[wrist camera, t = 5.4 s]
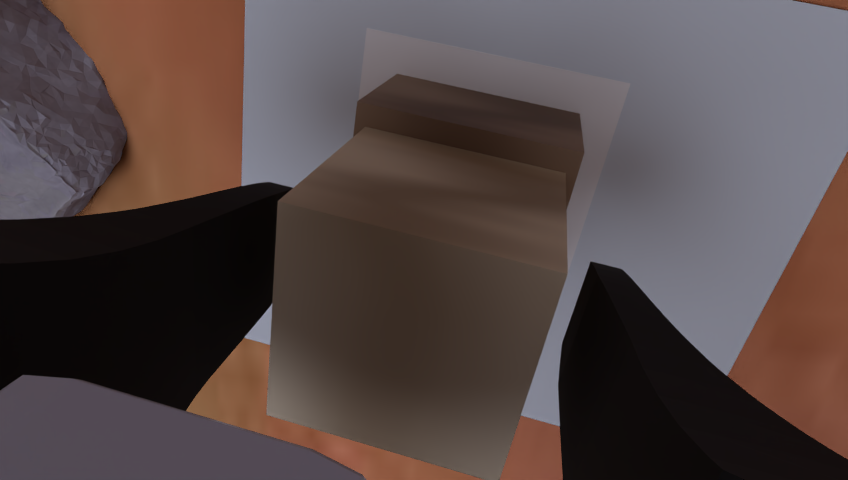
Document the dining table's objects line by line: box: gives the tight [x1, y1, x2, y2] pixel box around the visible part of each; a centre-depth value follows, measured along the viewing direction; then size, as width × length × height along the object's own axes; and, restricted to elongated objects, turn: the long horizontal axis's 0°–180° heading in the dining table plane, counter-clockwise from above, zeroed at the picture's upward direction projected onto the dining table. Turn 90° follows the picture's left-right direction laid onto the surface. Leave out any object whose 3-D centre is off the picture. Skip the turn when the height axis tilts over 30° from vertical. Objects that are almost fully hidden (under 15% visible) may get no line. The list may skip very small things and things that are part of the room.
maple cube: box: [266, 127, 568, 480], centre depth 12 cm, size 4×4×4 cm
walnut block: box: [353, 74, 584, 210], centre depth 15 cm, size 5×5×4 cm
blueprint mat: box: [242, 0, 848, 426], centre depth 17 cm, size 16×14×1 cm
